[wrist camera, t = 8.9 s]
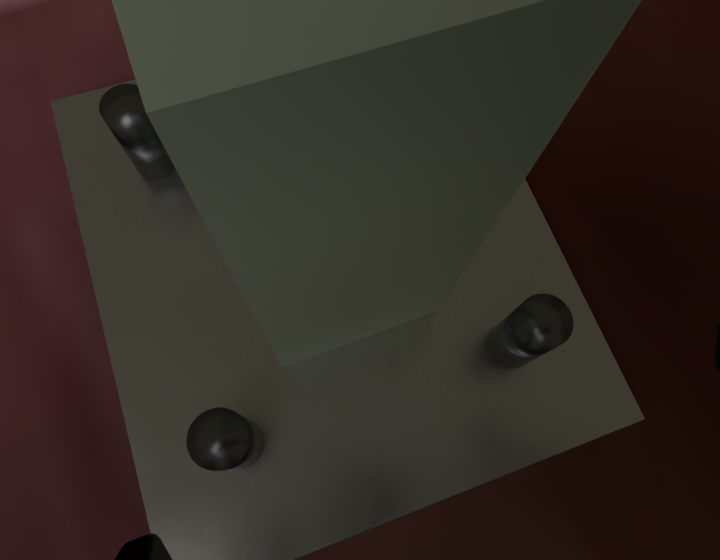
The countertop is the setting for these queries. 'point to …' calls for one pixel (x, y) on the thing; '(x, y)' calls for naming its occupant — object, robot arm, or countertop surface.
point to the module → (357, 139)
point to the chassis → (317, 366)
